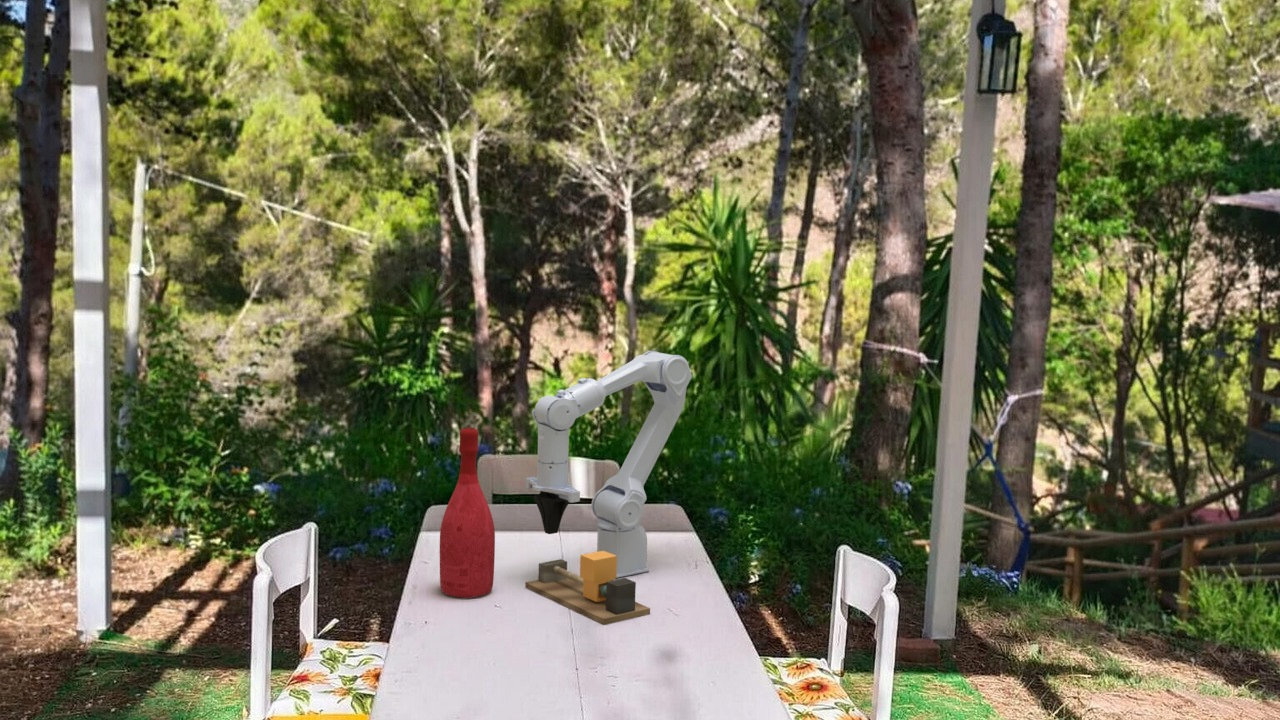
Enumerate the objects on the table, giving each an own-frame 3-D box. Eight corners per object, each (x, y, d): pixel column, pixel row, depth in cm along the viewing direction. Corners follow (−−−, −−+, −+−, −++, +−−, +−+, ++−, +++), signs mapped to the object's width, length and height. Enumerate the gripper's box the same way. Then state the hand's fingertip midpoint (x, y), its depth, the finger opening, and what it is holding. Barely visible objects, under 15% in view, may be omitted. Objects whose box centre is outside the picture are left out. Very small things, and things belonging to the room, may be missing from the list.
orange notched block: (579, 596, 197) (580, 554, 196) (602, 591, 200) (603, 550, 199) (592, 602, 194) (594, 560, 193) (615, 597, 197) (617, 556, 196)
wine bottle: (503, 587, 206) (506, 426, 202) (478, 603, 196) (481, 434, 193) (455, 580, 209) (457, 421, 206) (429, 595, 200) (430, 429, 196)
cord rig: (525, 587, 206) (526, 555, 205) (569, 578, 212) (570, 547, 211) (603, 624, 187) (604, 590, 187) (650, 613, 194) (651, 580, 193)
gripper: (513, 456, 210) (511, 527, 212) (558, 470, 199) (556, 544, 201) (543, 452, 215) (542, 522, 216) (589, 466, 204) (588, 538, 205)
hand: (551, 532), depth 209 cm, fingers closed
